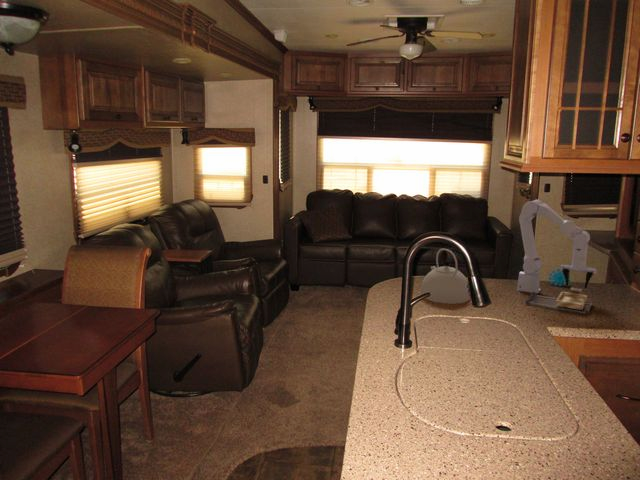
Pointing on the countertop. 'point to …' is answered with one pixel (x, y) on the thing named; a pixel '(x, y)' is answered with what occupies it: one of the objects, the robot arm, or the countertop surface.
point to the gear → (558, 278)
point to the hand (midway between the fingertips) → (576, 286)
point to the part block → (575, 290)
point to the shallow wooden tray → (571, 300)
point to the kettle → (446, 283)
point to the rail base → (550, 303)
